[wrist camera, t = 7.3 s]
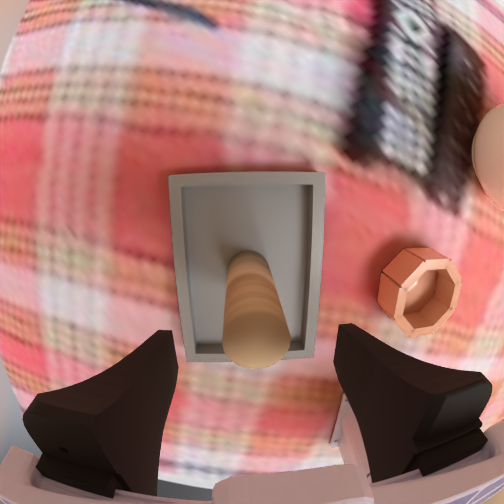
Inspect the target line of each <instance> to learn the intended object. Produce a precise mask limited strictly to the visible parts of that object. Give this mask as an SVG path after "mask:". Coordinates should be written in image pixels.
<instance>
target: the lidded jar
mask: <svg viewBox="0 0 504 504" xmlns="http://www.w3.org/2000/svg"><path fill="white" fill-rule="evenodd" d="M471 156H472V164H473V168H474V171H475V174H476V176H477V178H478V180H479V181H480V183H481V186H482V188H483V189H484V191H485V193H486V194H487V196H488V197H489V198H490V200H491V201H492V202H493V203H494V204H495V205H496V206H497V207H498V208H499V209H500V210H502V211H503V212H504V103H501V104H499V105H497V106H496V107H494V108H492V109H491V110H490V111H489V112H488V113H487V114H486V115H485V116H484V117H483V119H482V120H481V122H480V124H479V126H478V129H477V131H476V133H475V135H474V138H473V142H472V149H471Z"/></svg>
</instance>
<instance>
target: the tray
mask: <svg viewBox="0 0 504 504" xmlns="http://www.w3.org/2000/svg"><path fill="white" fill-rule="evenodd" d="M168 183H169V203H170V219H171V233H172V246H173V257H174V267H175V277H176V287H177V295H178V304H179V312H180V319H181V327H182V334H183V341H184V347H185V354H186V360H187V362H233V361H231V360H230V359H229V358H228V356H227V355H226V354H225V352H224V349H223V345H222V336H223V321H224V307H225V293H226V280H227V268H228V264H229V262H230V260H231V259H232V258H233V257H234V256H235V255H236V254H238V253H240V252H243V251H255V252H258V253H260V254H261V255H262V256H264V257H265V259H266V260H267V262H268V264H269V267H270V270H271V274H272V277H273V280H274V283H275V286H276V290H277V293H278V296H279V299H280V303H281V306H282V309H283V312H284V316H285V319H286V322H287V325H288V329H289V332H290V336H291V342H290V347H289V349H288V351H287V353H286V354H285V355H284V357H283V358H282V359H281V360H285V359H299V358H311V357H314V350H315V341H316V331H317V321H318V311H319V299H320V286H321V272H322V256H323V237H324V211H325V173H324V172H303V171H242V172H209V173H189V174H173V175H168Z"/></svg>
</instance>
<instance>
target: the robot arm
mask: <svg viewBox="0 0 504 504" xmlns="http://www.w3.org/2000/svg"><path fill="white" fill-rule="evenodd" d="M333 362H334V366H335V370H336V373H337V376H338V380H339V382H340V384H341V386H342V389H343V391H344V394H343V397H342V401H341V405H340V409H339V413H338V417H337V421H336V424H335V428H334V432H333V435H332V439H331V442H330V447H332V448H334V447H339V449H340V452H341V455H342V458H343V461H344V465H332V466H326V467H320V468H313V469H306V470H298V471H288V472H277V473H262V474H246V475H239V476H231V477H229V478H227V479H224V480H222V481H220V482H218V483H216V484H215V486H214V488H213V491H212V501H194V500H182V499H172V498H163V497H157V480H158V467H159V457H160V449H161V442H162V435H163V430H164V425H165V422H166V418H167V415H168V411H169V408H170V404H171V401H172V398H173V394H174V391H175V387H176V381H177V374H178V363H177V357H176V352H175V346H174V340H173V334H172V330H158V331H157V332H155V333H154V334H153V335H152V336H151V337H149V338H148V339H147V340H146V341H145V342H144V343H142V344H141V345H140V346H139V347H138V348H136V349H135V350H134V351H133V352H132V353H130V354H129V355H127V356H126V357H125V358H123V359H122V360H121V361H119V362H118V363H117V364H115V365H113V366H112V367H110V368H109V369H107V370H105V371H103V372H102V373H100V374H98V375H96V376H94V377H91V378H89V379H87V380H85V381H83V382H80V383H77V384H75V385H72V386H69V387H66V388H62V389H59V390H54V391H50V392H45V393H39V394H37V396H36V397H35V398H34V400H33V401H32V403H31V404H30V406H29V407H28V408H27V410H26V411H25V413H24V414H23V422H24V426H25V428H26V429H27V431H28V433H29V435H30V436H31V437H32V439H33V440H34V442H35V443H36V445H37V446H38V447H39V449H40V450H41V451H42V455H41V457H40V459H39V458H38V457H37V456H35V455H34V454H32V453H30V452H27V451H25V450H23V449H20V448H18V447H16V446H11V448H10V450H9V451H8V453H7V455H6V456H5V458H4V460H3V462H2V463H1V465H0V500H1V501H2V502H3V503H5V504H481V503H483V502H484V501H486V500H487V499H489V498H490V497H492V496H493V495H495V494H496V493H497V492H499V491H500V490H502V488H504V419H503V420H501V421H500V422H498V423H496V424H494V425H493V426H491V427H489V428H488V429H487V430H486V431H485V432H484V433H483V432H482V431H481V429H480V427H481V426H482V422H481V421H480V419H479V417H480V415H481V413H482V412H483V410H484V408H485V406H486V405H487V403H488V401H489V399H490V396H491V393H492V384H491V383H490V382H489V380H488V379H487V378H486V377H485V376H484V375H483V374H482V373H481V372H475V371H463V370H456V369H450V368H445V367H441V366H437V365H434V364H430V363H427V362H424V361H421V360H418V359H416V358H413V357H411V356H409V355H406V354H404V353H402V352H400V351H398V350H396V349H394V348H392V347H390V346H389V345H387V344H385V343H383V342H382V341H380V340H378V339H377V338H375V337H374V336H372V335H370V334H369V333H367V332H366V331H364V330H362V329H361V328H359V327H358V326H356V325H354V324H352V323H350V324H340V325H339V327H338V334H337V341H336V348H335V354H334V361H333Z"/></svg>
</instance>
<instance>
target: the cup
mask: <svg viewBox="0 0 504 504" xmlns="http://www.w3.org/2000/svg"><path fill="white" fill-rule="evenodd" d="M382 271H383V272H384V273H381V278H380V285H379V292H378V298H377V301H378V304H379V305H380V306H381V307H382V309H383V310H384V311H385V312H386V313H387V314H388V316H389V317H390V318H391V319H392V320H393V321H394V322H395V323H396V325H397V326H398V327H399V328H400V329H401V330H402V331H403V332H404V334H405V335H406V336H407V337H409V338H412V337H418V336H423V335H428V334H433V331H434V332H436V331H437V330H438V329H439V328H440V326H441V325H442V324H443V323H444V322H445V321H446V320H447V319H448V318H449V317H450V316H451V315H452V314H453V312H454V309H456V306H457V302H458V298H459V294H460V289H461V285H462V281H461V280H462V279H461V277H460V275H459V273H458V271H457V269H456V267H455V265H454V264H453V262H452V260H451V259H449V258H447V257H446V256H444V255H442V254H440V253H438V252H436V251H434V250H432V249H430V248H428V247H423V248H405V250H404V249H402V251H401V252H400V253H399V254H398V255H397V256H396V257H395V258H394V259H393V260H392V261H391V262H390V263H389V264H388V265H387V266H386V267H385V268H384V269H383V270H382Z"/></svg>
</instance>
